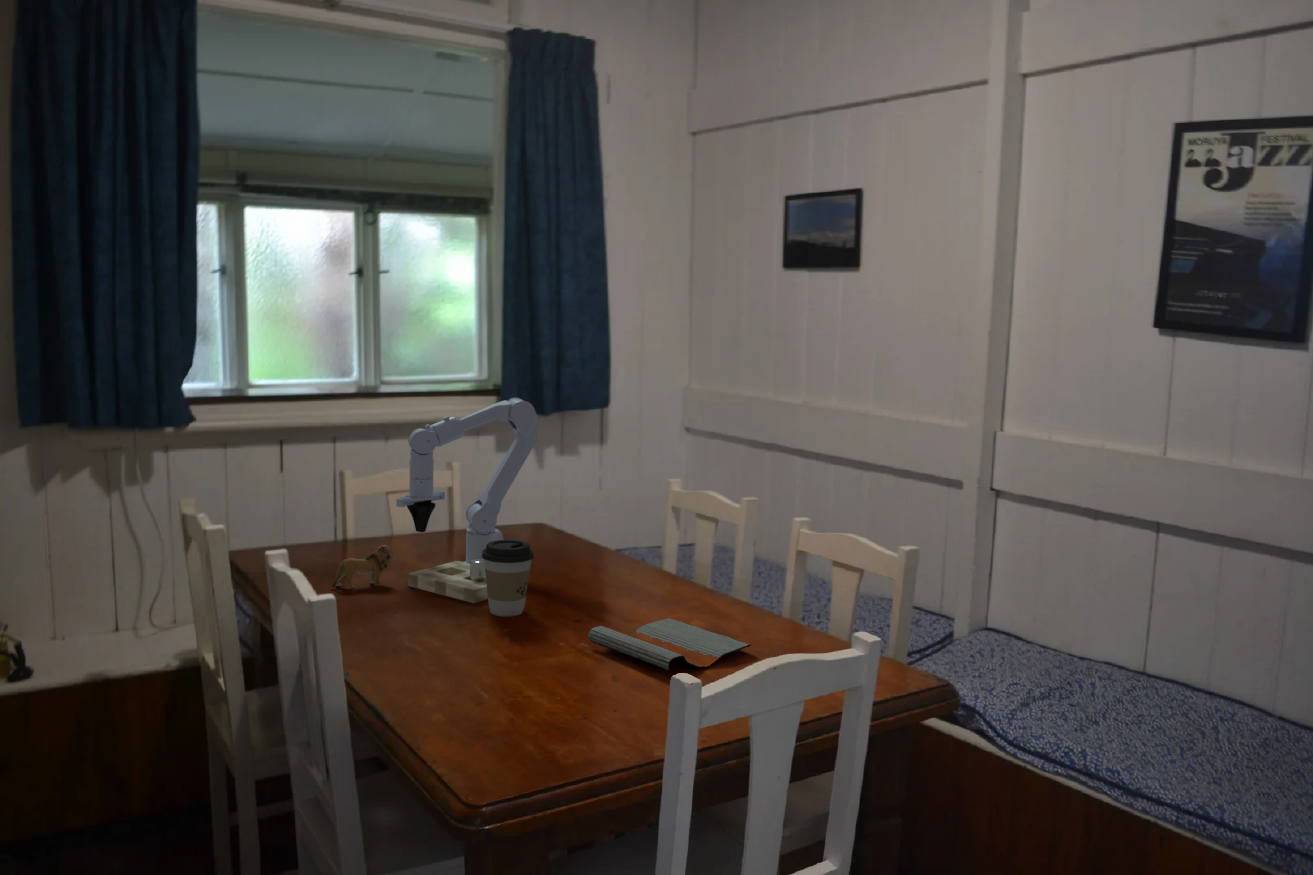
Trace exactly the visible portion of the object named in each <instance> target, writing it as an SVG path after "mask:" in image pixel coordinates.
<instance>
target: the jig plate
mask: <svg viewBox="0 0 1313 875" xmlns="http://www.w3.org/2000/svg"><path fill="white" fill-rule="evenodd" d="M464 562H465V561H459V560H454V561H451V562H447V563H443V564H439V565H435V566H431V567H427V568H423V569H419V570H416V571H412V572H409V573H407V587H410V588H411V587H412V588H414V589H417V590H418V589H419V590H422V591H425V592H426V591H427V592H429V593H430V592H431V593H433V594H437V595H441V596H444V597H450V598H453V599H456V600H460V601H465V602H467V603H472V604H476V603H479V602H482V601H486V600H488V593H487V584H486V581H484V582H481V583H479V582H475V581H471V580H470V564H469V563H464Z"/></svg>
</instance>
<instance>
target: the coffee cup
mask: <svg viewBox="0 0 1313 875" xmlns="http://www.w3.org/2000/svg"><path fill="white" fill-rule="evenodd" d="M481 557H482V558H483V559H484V565H485V574H486V584H487V593H488V599H487V601H488V602H487V603H488V608H489V612H490V614H491V615H493V616H496V617H497V616H498V617H503V618H504V617H505V618H507V617H509V618H510V617H516V616H517V617H518V616H520V615H522V614H523V613H524V609H525V604H526V598H527V592H528V584H529V579H530V578H529V577H530V573H531V572H530V571H531V566H532V560H533V559H534V558H535V555H534V551H533V549H531V546H530V543H528V542H527V541H523V540H519V539H518V540H517V539H504V540H496V541H492V542H489V543H488V544H487V545H486V549H484V550H483V551H482V556H481Z"/></svg>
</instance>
